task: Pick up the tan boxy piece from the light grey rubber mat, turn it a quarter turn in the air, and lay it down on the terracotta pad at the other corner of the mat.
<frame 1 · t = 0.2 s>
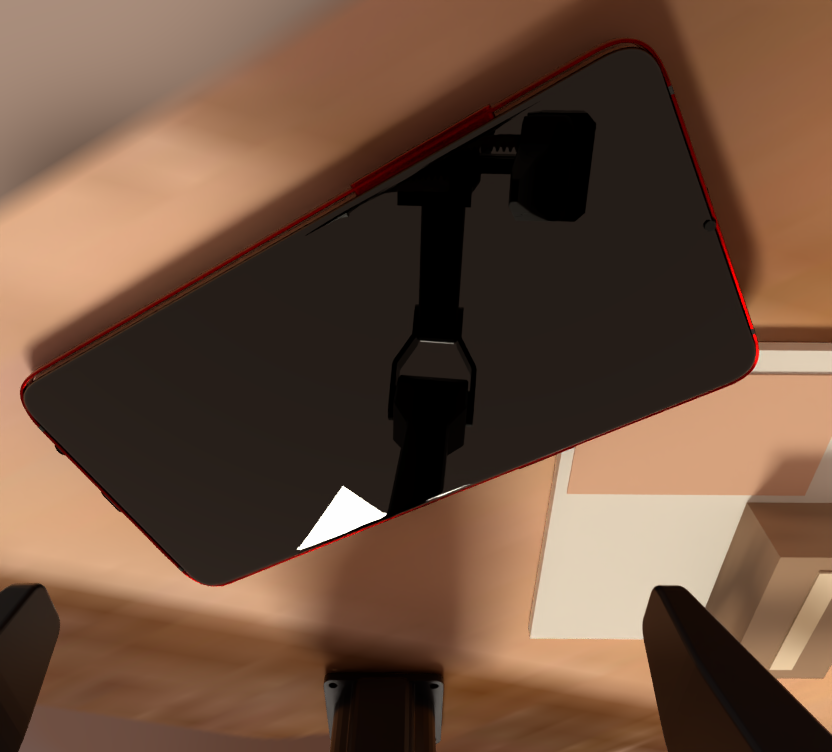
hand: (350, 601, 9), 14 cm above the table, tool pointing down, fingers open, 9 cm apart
mat: (706, 509, 28), on the table
smartphone: (371, 364, 24), on the table, touching mat
tan boxy piece: (770, 566, 29), point 1 cm above the table, touching mat
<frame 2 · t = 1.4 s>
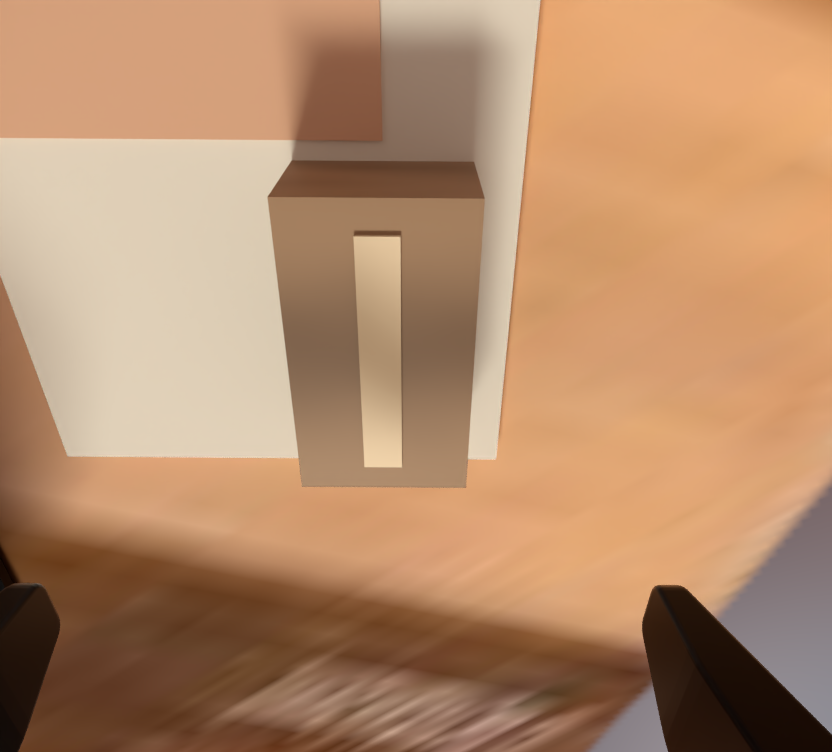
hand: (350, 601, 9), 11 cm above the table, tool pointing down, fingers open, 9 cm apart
mat: (251, 193, 17), on the table
tan boxy piece: (385, 307, 18), point 1 cm above the table, touching mat
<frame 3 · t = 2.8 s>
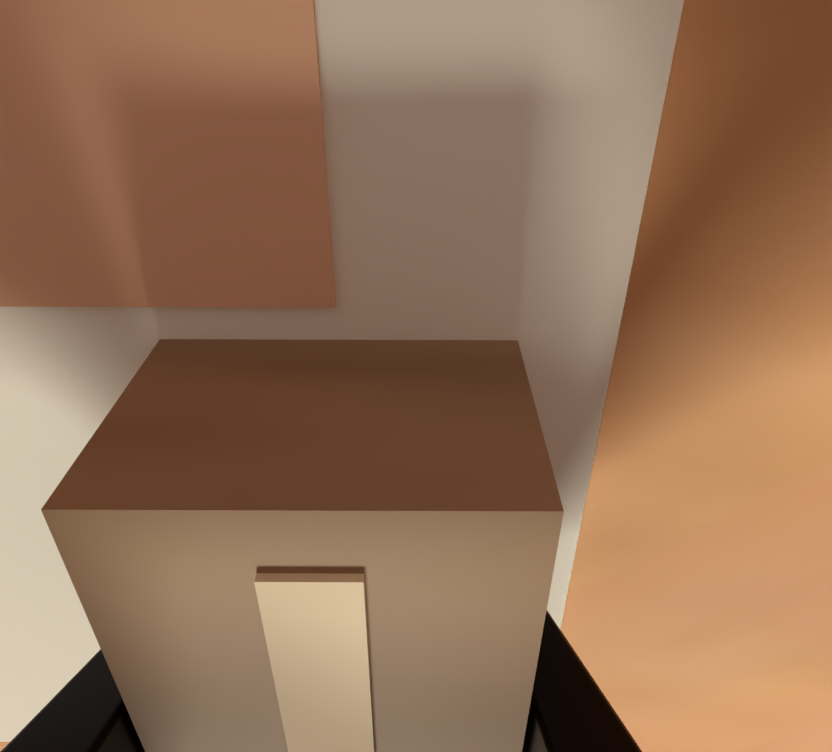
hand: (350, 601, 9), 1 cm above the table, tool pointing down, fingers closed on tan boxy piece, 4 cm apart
mat: (101, 379, 9), on the table
tan boxy piece: (354, 558, 10), point 1 cm above the table, touching gripper, mat
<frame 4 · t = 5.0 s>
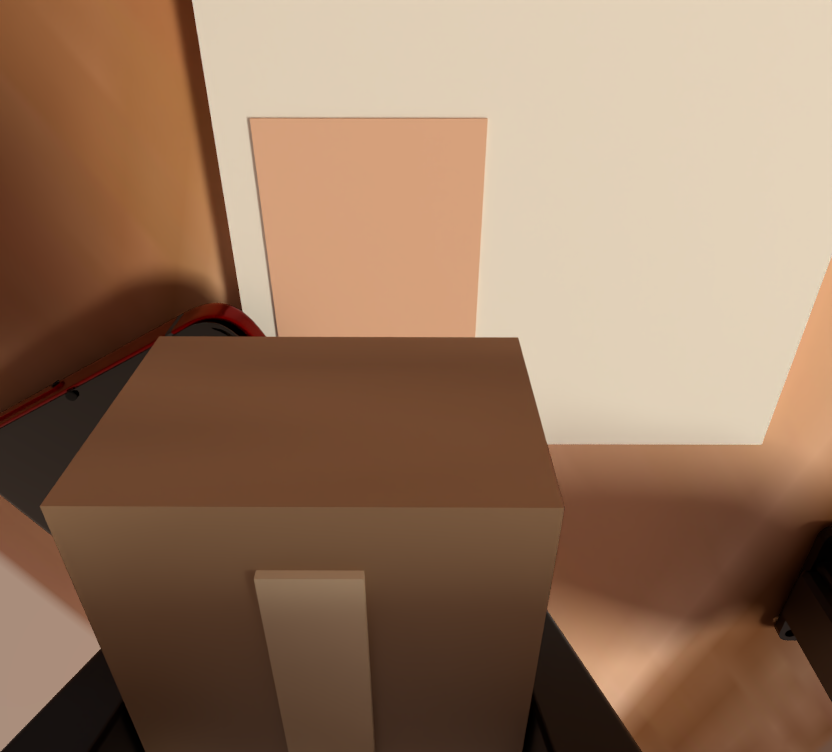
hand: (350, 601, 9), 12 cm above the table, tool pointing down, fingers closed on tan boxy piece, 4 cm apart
mat: (529, 241, 19), on the table
smartphone: (313, 582, 26), on the table, touching mat
tan boxy piece: (354, 557, 10), point 11 cm above the table, touching gripper
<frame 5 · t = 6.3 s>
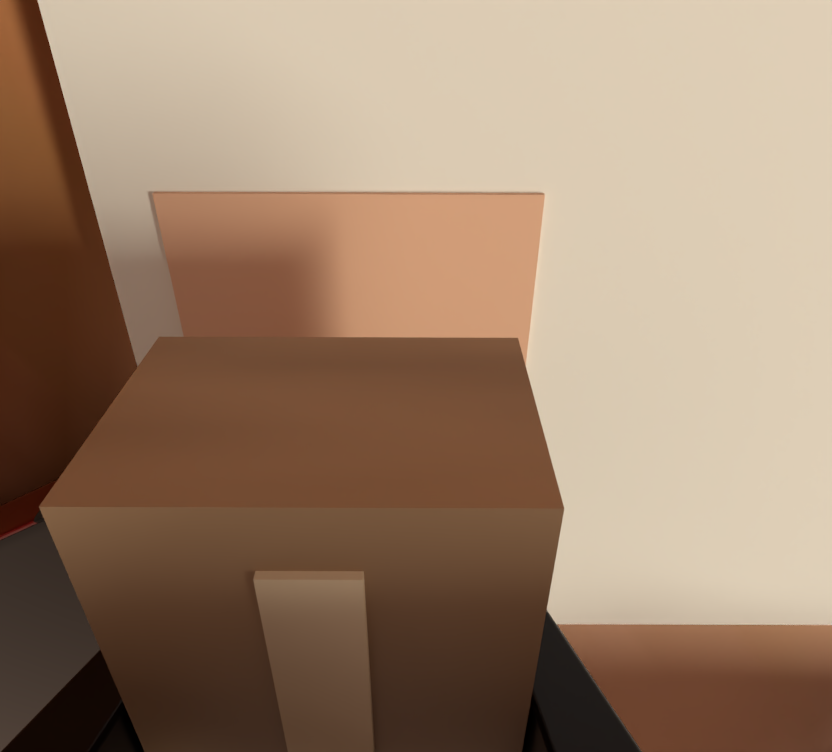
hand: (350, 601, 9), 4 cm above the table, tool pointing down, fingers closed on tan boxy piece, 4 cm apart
mat: (596, 366, 12), on the table
tan boxy piece: (354, 557, 10), point 3 cm above the table, touching gripper
when the fingers open (3 cm above the table, at t = 7.3 s): tan boxy piece drops 1 cm, resting on mat, smartphone.
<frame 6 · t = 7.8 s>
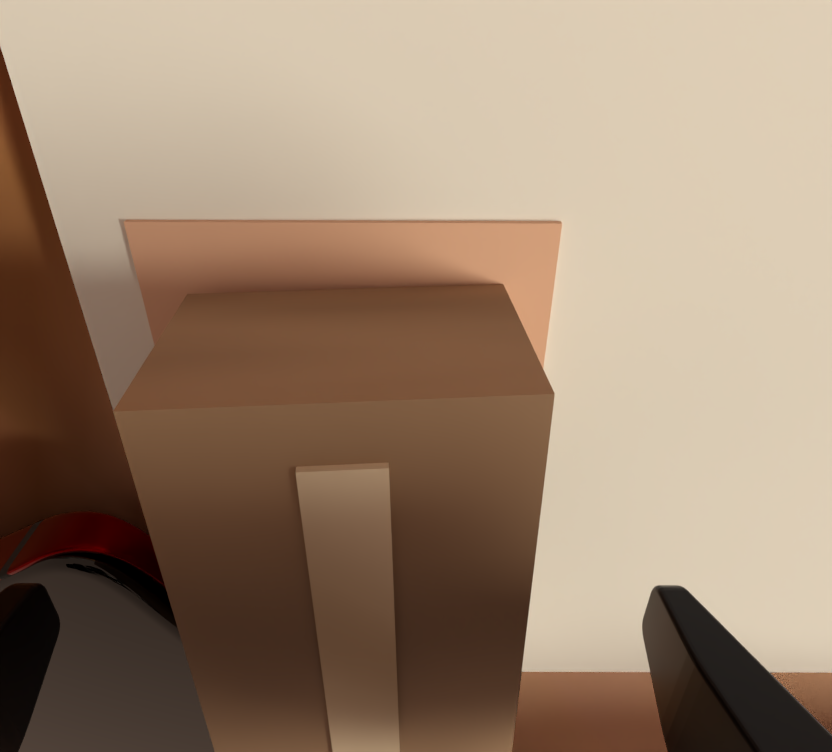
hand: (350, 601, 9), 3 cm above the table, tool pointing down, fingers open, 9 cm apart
mat: (614, 404, 11), on the table
tan boxy piece: (361, 502, 11), point 1 cm above the table, touching mat, smartphone
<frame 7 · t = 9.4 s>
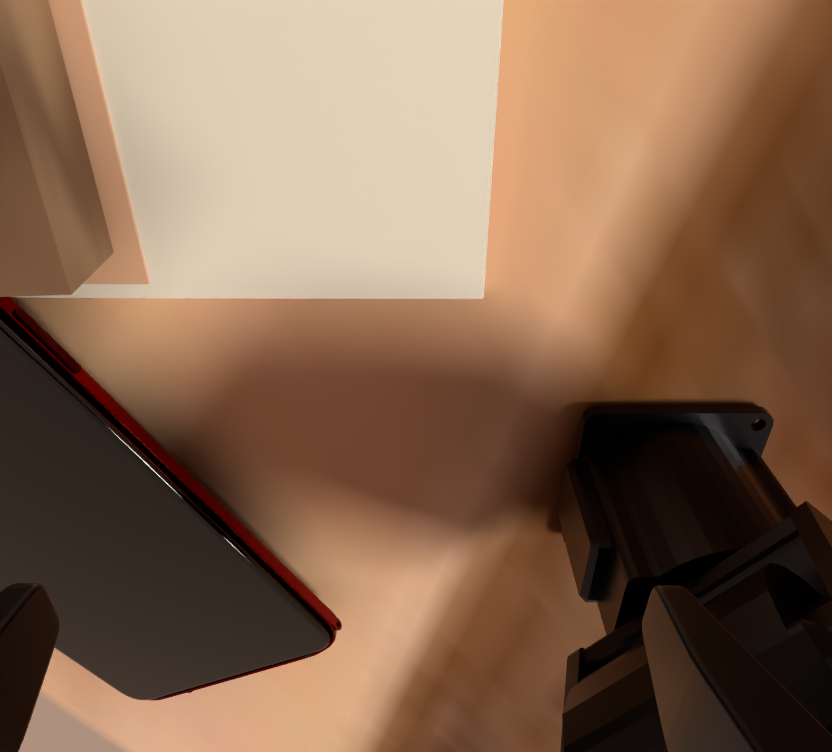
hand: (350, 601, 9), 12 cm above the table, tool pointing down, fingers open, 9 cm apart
mat: (160, 35, 16), on the table
smartphone: (39, 477, 24), on the table, touching mat, tan boxy piece
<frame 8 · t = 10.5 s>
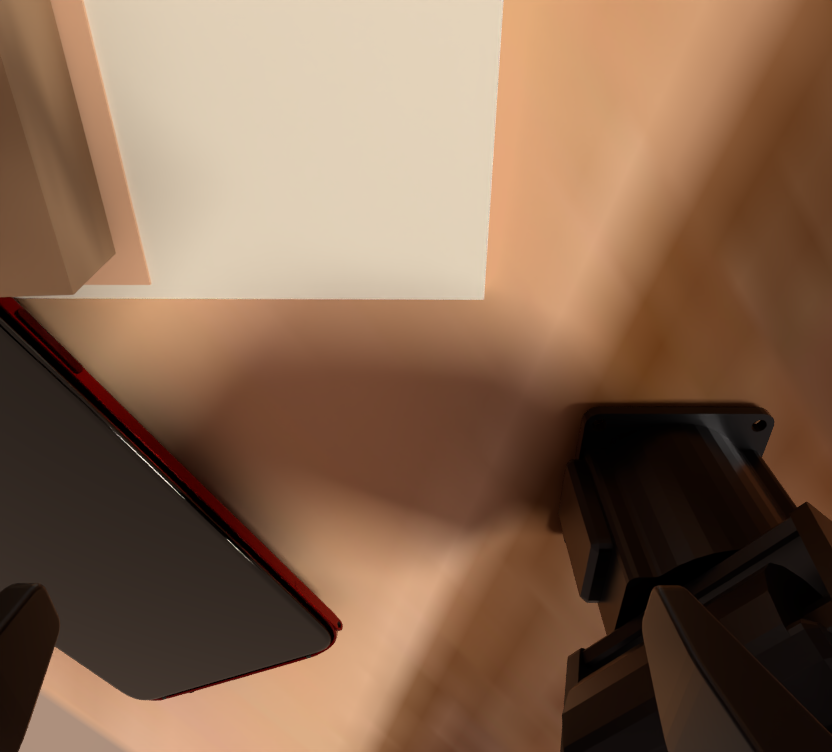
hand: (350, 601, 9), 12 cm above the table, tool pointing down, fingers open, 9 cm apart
mat: (162, 37, 16), on the table
smartphone: (41, 477, 24), on the table, touching mat, tan boxy piece
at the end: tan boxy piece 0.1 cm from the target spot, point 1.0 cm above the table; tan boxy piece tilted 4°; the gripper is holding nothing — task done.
